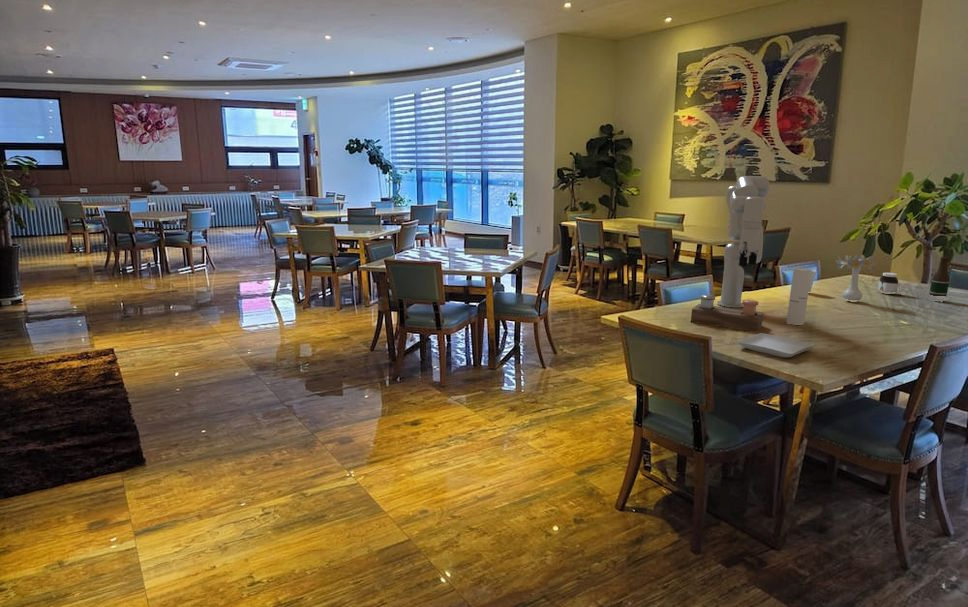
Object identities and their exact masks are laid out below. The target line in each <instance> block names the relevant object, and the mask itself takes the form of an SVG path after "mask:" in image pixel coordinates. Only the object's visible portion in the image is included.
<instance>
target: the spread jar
mask: <svg viewBox="0 0 968 607" xmlns="http://www.w3.org/2000/svg"><path fill="white" fill-rule="evenodd" d="M898 289H899V290H898ZM878 290H880V291H884V292H896V293H897V292H898V291H899V293H900V292H903V293H904V291H903V287H902V283H901V282H900V283H899V280H898V274H897V273H894V272H882V276H881V277H879V280H878V286H877V291H878Z"/></svg>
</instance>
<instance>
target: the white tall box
mask: <svg viewBox="0 0 968 607" xmlns="http://www.w3.org/2000/svg"><path fill="white" fill-rule="evenodd" d="M812 270H813V269H812ZM812 270H811V268H805V267H793V271H792V277H791V278H792V279H791V286H790V292H789V299H788V307H787V315H786V316H787V317H786V322H787V323H788V324H787V323H786V324H787V325H789V324H793V325H792V326H794V325H802V324H804V325H805V319H806V312H807V305H808V298H809V294H808V292H809V285H810V278H811V271H812Z"/></svg>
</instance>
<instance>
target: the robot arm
mask: <svg viewBox="0 0 968 607" xmlns="http://www.w3.org/2000/svg"><path fill="white" fill-rule="evenodd" d="M769 191H770V180H769V178H767V177H766V176H764V175H762V176H761V175H744V176H741V177H739V178H738V179H737V180H736V182H735V185H731V186H729V187H728V188H727V190H726V191H725V200H726V201H725V202H726V204H727V209H728V212H729V216H728V217H729V220H728V239H729V240H731V241H737V242H732V243H728V244H726V245H725V247H724V251H723V257H724V260H723V261H724V262H723V264H724V268H723V275H722V276H723V277H722V287H721V293H720V294H721V295H720V300H717V302H716V303H717V305H718V306H720V305H721V306H720V307H724V306H725V308H731V307H732V309H738V308H739V309H740V308H743V305H744V304H742V294H743V287H744V277H745V270H744V268H743V267H747V265H752V266H755V265H757V264H758V263H760V262H761V260H762V258H763V247H764V246H763V245H764V227H763V225H762V223H763V215H764V211H765V209H766V200H765V198H766V196H767V195H768V193H769Z"/></svg>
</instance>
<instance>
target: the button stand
mask: <svg viewBox="0 0 968 607" xmlns="http://www.w3.org/2000/svg"><path fill="white" fill-rule="evenodd" d="M700 305H701V303H698V304H696V305H695V306H694V307H693V308H691V316H690V322H691V321H692V322H691V323H696V322H698V323H699V324H703V325H704V324H705V325H710V324H711V326H716V325H719V326H718V327H723V326H726V327H725V328H730V327H732V328H731V329H737V330H743V329H744V330H745V331H752V332H757V331H758V332H759V330H760V329H761V327H762V326H763V319H764V312H761V311H756V314H755V316H752V315H745V314H743V309H740V308H739V309H738V308H731V307H724V306H715V305H713V309H712V310H708V309H700ZM698 323H697V324H698Z"/></svg>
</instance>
